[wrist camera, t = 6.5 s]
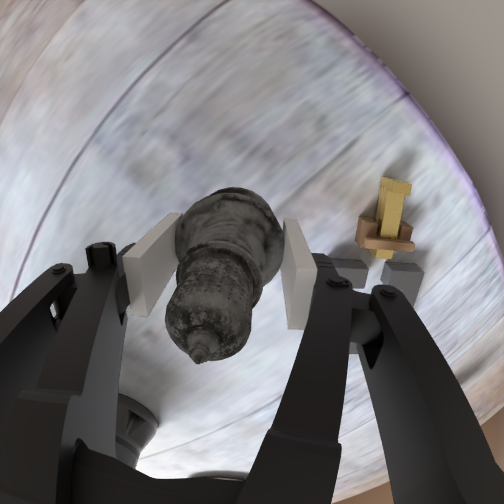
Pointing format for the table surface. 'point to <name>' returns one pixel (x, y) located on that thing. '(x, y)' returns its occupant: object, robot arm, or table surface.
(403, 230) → the bracket
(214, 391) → the table surface
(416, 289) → the socket collar
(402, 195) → the pin
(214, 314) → the grey stone chess piece
